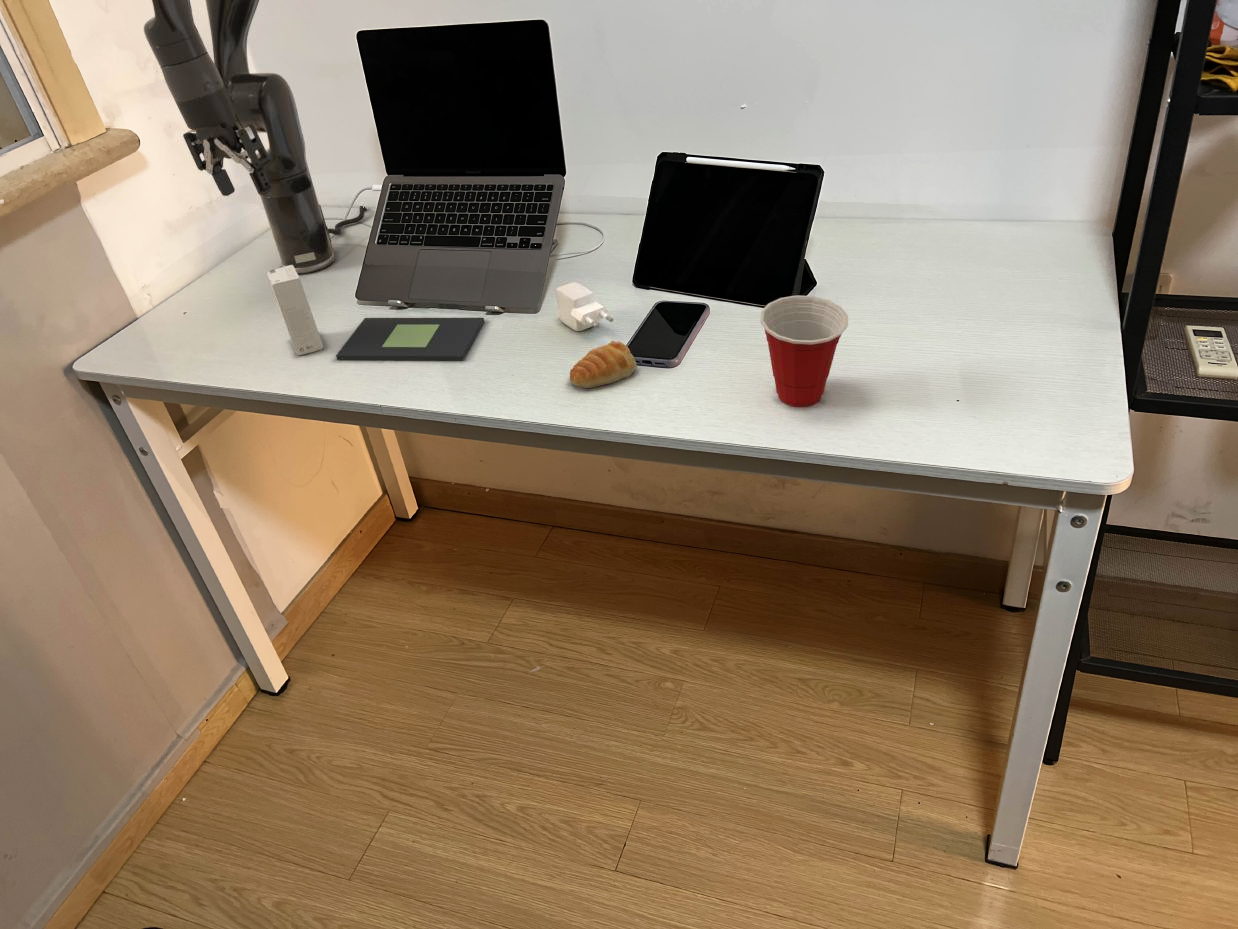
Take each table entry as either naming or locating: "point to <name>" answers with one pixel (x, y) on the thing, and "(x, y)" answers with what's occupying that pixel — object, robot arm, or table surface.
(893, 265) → the table surface
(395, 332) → the mat
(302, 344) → the cosmetic box
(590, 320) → the power adapter
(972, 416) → the table surface
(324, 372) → the table surface
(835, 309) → the plastic cup
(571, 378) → the pastry
